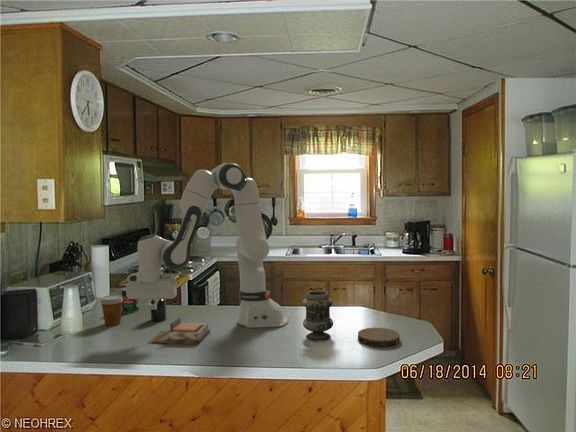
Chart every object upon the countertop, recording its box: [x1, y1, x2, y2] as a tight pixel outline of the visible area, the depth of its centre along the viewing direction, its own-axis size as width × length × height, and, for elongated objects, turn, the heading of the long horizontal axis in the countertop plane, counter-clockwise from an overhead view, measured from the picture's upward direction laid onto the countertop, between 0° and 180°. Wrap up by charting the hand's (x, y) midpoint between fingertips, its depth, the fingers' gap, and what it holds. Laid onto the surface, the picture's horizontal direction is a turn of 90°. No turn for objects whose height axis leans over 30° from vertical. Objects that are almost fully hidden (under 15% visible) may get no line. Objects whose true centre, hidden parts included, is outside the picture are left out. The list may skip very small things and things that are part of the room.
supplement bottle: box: [150, 299, 167, 322], centre depth 222 cm, size 7×7×12 cm
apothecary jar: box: [302, 290, 334, 342], centre depth 193 cm, size 12×12×18 cm
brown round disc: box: [357, 327, 401, 349], centre depth 189 cm, size 16×16×3 cm
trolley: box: [169, 317, 203, 333], centre depth 194 cm, size 10×8×6 cm
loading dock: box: [146, 322, 211, 346], centre depth 196 cm, size 21×15×5 cm
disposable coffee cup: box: [100, 294, 123, 327], centre depth 216 cm, size 10×10×12 cm
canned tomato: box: [120, 287, 140, 314], centre depth 238 cm, size 8×8×11 cm
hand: (152, 309), depth 197 cm, fingers closed
